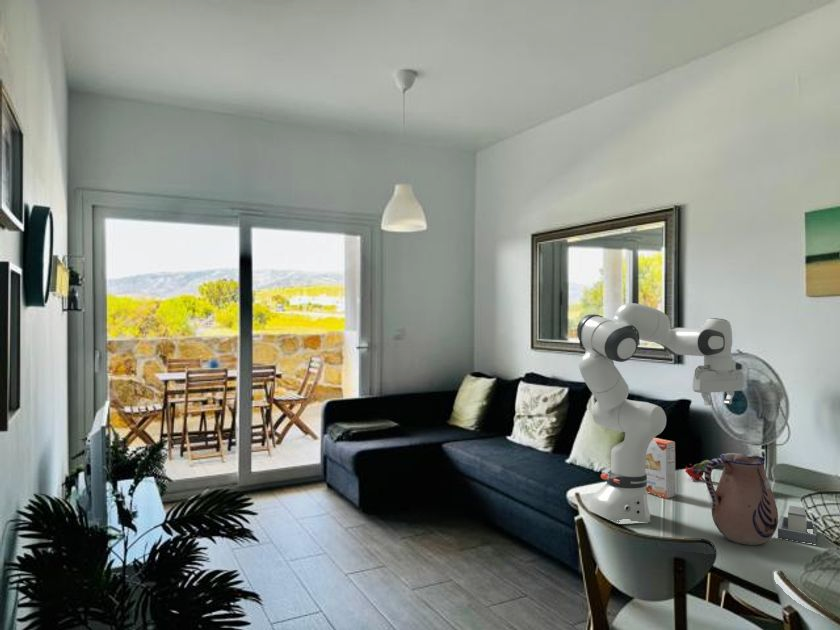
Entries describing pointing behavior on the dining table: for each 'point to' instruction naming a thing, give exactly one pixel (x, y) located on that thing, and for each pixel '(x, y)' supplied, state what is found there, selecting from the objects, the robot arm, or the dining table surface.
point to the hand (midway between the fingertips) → (718, 404)
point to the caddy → (797, 519)
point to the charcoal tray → (796, 532)
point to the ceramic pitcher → (742, 499)
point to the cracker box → (660, 468)
